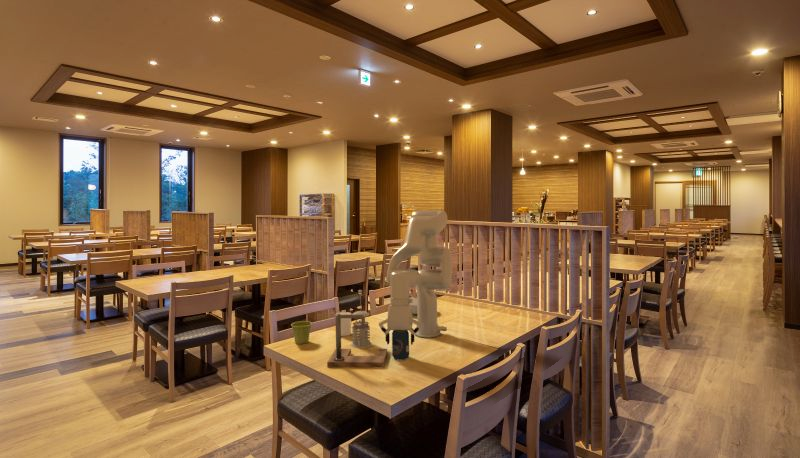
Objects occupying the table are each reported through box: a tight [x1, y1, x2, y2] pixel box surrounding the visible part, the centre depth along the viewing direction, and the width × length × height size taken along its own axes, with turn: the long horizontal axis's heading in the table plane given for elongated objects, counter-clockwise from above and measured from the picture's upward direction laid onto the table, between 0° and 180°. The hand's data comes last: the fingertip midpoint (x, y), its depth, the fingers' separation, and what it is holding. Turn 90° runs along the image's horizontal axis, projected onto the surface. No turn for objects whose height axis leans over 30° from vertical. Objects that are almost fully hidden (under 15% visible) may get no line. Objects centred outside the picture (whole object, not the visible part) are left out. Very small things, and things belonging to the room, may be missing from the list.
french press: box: [350, 289, 373, 349], centre depth 194 cm, size 10×12×25 cm
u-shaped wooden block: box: [326, 348, 388, 368], centre depth 176 cm, size 22×16×2 cm
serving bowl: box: [409, 297, 417, 316], centre depth 253 cm, size 21×21×7 cm
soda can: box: [391, 330, 410, 361], centre depth 178 cm, size 7×7×12 cm
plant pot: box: [290, 320, 313, 345], centre depth 201 cm, size 9×9×9 cm
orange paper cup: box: [335, 311, 352, 337], centre depth 212 cm, size 8×8×10 cm
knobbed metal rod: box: [334, 313, 366, 361], centre depth 171 cm, size 13×4×18 cm, turn 87°
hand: (400, 343), depth 177 cm, fingers open, 9 cm apart
